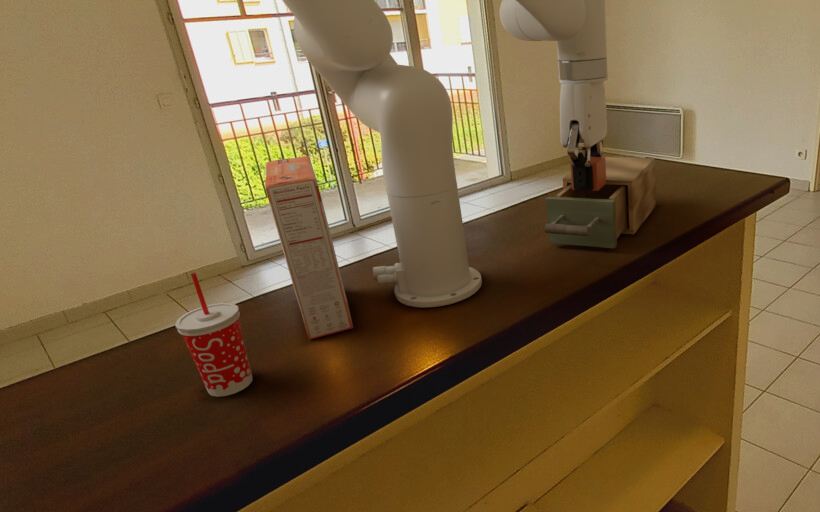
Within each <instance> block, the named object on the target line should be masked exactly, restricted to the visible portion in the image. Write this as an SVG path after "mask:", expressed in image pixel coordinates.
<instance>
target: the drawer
mask: <svg viewBox="0 0 820 512" xmlns="http://www.w3.org/2000/svg"><path fill="white" fill-rule="evenodd" d="M545 204H546V214H547V223H545V225H544V233H545V234H548V237H549V244H555V245H567V246H580V247H581V246H582V247H591V248H604V249H616V248H617V247H618V238H619V237H620V236H621V235H622V234H621V233H622V232H623V231H624V230H625V228H626V227H627V226H628V225H629V207H628V185H609V184H605V185H604V186H603V187H602V188H601V189H599V190H598V191H582V190H572V183H571V184H570V185H569V186H568V187H566V188H565V189H564V190H563V189H562V190H561V191H560V192H558V193H557V194H556V195H555V196H548V197H546V198H545Z"/></svg>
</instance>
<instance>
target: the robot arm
mask: <svg viewBox="0 0 820 512" xmlns="http://www.w3.org/2000/svg"><path fill="white" fill-rule="evenodd" d="M281 1H282V2H283V3H284V5H285V6H286V7H287V8H288V10H289V11H290V12H291V13H292V14H293V16H294V17H293V33H294V38H295V40H296V43H297V45H298V47H299V49H300V51H301V53H302V54H303V55H304V57H305V58H306V60H307V61H308V62H309V63H310V65H311V66H312V67H313V68H314V69H315V71H316V72H317V73H318V74H319V76H320V77H321V78H322V79H323V80H324V81H325V83H326V84H327V85H328V87H329V88H330V89H331V90H332V91H333V92H334V93H335V95H336V96H337V97H338V99H340V101H341V102H342V103H343V104H344V106H346V108H347V109H348V110H349V111H350V113H352V114H353V116H354V117H355V118H356V119H357V120H358V121H360V123H362V124H363V125H364V126H366V127H367V128H369V129H371V130H372V131H375V132H378V133H379V134H380V144H381V145H380V149H381V150H380V153H381V168H382V175H383V181H384V186H385V192H386V196H387V201H388V206H389V211H390V216H391V221H392V227H393V232H394V237H395V242H396V247H397V251H398V252H397V253H398V258H399V262H395V263H394V265H389V266H387V265H381V266H380V265H379V266H373V267H372V277H373V279H374V281H376V280H377V284H378V285H388V284H395V286H394V288H393V289H394V295H395V298H396V300H397V301H398V302H399V303H401V304H402V305H405V306H407V307H412V308H421V309H423V308H428V309H429V308H438V307H444V306H449V305H452V304H456V303H459V302H461V301H464V300H466V299H468V298H470V297H472V296H473V295H474V294H476V293H477V292H478V291H479V290H480V289H481V287H482V284H483V279H482V275H481V272H479V271H478V270H477V269H475V268H474V267H470V265H469V256H468V250H467V242H466V236H465V230H464V223H463V216H462V209H461V201H460V194H459V189H458V188H459V187H458V181H457V175H456V168H455V159H454V148H453V126H454V125H453V122H454V121H453V120H454V118H453V117H454V116H453V105H452V101H451V98H450V95H449V92H448V91H447V89H446V87H445V86H444V84H443V83H442V81H441V80H440V79H439V78H438V77H436V76H435V75H434V74H433V73H431V72H430V71H428V70H425V69H424V68H420V67H418V66H413V65H404V64H398V63H397V61H396V60H395V58H394V57H393V56H392V55H391V51H392V48H393V43H394V36H393V35H394V34H393V29H392V26H391V23H390V21H389V19H388V17H387V15H386V14H385V12H384V10H383V9H382V8H381V7H380V5H379V4H378V3H377V2H376V0H281ZM499 20H500V23H501V25H502V27H503V29H504V30H505V31H506V32H507V33H508V34H509V35H510V36H512V37H513V38H515V39H517V40H521V41H525V42H543V41H544V42H547V41H548V42H556V51H557V63H558V64H557V65H558V79H559V81H558V82H559V84H560V93H559V137H560V139H559V140H560V145H561V147H562V148H565V149H566V148H567V149H566V153H567V155H568V157H569V158H570V160H571V161H570V163H571V165H572V167H573V183H574V189H575V190H582V191H592V190H593V170H592V166H590V157H604V149H603V145H604V141H603V140H604V139H605V138H606V136H607V134H608V110H607V109H608V108H607V98H606V89H605V82H606V81H608V79H609V76H608V53H607V50H608V49H607V27H606V0H501V3H500V6H499ZM580 144H583V146H580ZM580 151H582V152H580ZM583 151H584V153H583ZM571 165H570V166H571Z"/></svg>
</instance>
